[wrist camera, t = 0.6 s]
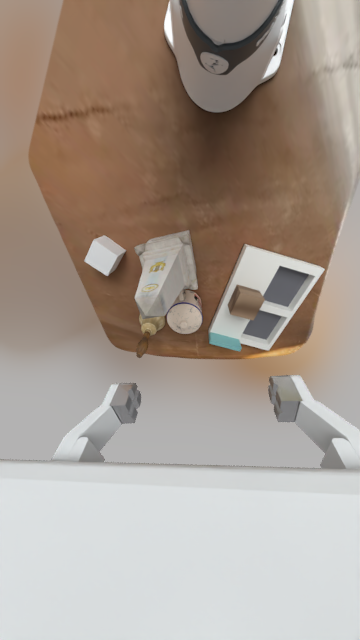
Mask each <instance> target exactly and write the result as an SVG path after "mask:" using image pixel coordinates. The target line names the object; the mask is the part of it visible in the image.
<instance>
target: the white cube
mask: <svg viewBox="0 0 360 640" xmlns="http://www.w3.org/2000/svg"><path fill="white" fill-rule="evenodd" d="M125 252H126V250H125V249H123V248H122V247H121V246H119V245H118V244H116V243H115V242H114V241H112V240H111V239H109V238H108V237H107V236H105V235H104V236H102V237H99V238H96V239H94V240H93V242H92V245H91V247H90V249H89V252H88V254H87V256H86V258H85V262H86V263H88V264H89V265H91V266H92V267H94V268H95V269H97V270H98V271H100V272H101V273H103V274H104V275H106V276H108V275H109V274H110V273H112V272H113V271H114V270H115V269H116V268H117V266H118V264H119V263H120V261H121V259H122V257H123V255H124V254H125Z"/></svg>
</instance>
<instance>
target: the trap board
mask: <svg viewBox="0 0 360 640" xmlns="http://www.w3.org/2000/svg"><path fill="white" fill-rule="evenodd" d="M324 270H325V269H324V268H322V267H320V266H318V265H315V264H312V263H308V262H305V261H301V260H298V259H295V258H291V257H288V256H285V255H281V254H278V253H275V252H271V251H268V250H264V249H261V248H258V247H254V246H251V245H248V244H244V245H243V248H242V250H241V253H240V255H239V257H238V260H237V262H236V264H235V267H234V269H233V272H232V274H231V276H230V279H229V281H228V284H227V286H226V288H225V291H224V293H223V295H222V298H221V300H220V303H219V305H218V307H217V310H216V312H215V315H214V317H213V319H212V322H211V324H210V326H209V329H208V332H209V344H213V345H217V346H221V347H224V348H228V349H232V350H236V351H240V350H241V345H240V343H241V344H245V345H249V346H253V347H256V348H260V349H264V350H268V351H269V349H270V348H271V347H272V345H273V344H274V342H275V341H276V339H277V338H278V336H279V335H280V334H281V332H282V331H283V329H284V328H285V326H286V325H287V323H288V322H289V321H290V319H291V318H292V316H293V315H294V313H295V312H296V310H297V309H298V307H299V306H300V305H301V303H302V302H303V300H304V299H305V297H306V296H307V294H308V293H309V292H310V290H311V289H312V287H313V286H314V284H315V283H316V281H317V280H318V279H319V277H320V276H321V274H322V273H323V271H324ZM236 285H241V286H244V287H248V288H251V289H255V290H258V291H260V292H261V294H262V295H263V297H264V299H265V301H264V303H263V304H262V306H261V308H260V310H259V311H258V313H257V315H256V317H255V318H254V320H249V319H245V318H242V317H238V316H234V315H231V314H230V312H229V308H228V303H229V301H230V299H231V296H232V294H233V292H234V290H235V287H236Z"/></svg>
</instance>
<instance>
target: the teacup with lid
mask: <svg viewBox="0 0 360 640" xmlns="http://www.w3.org/2000/svg"><path fill="white" fill-rule="evenodd" d="M202 321H203V316H202V303H201V299H200V297H199V296H198V295H197V294H196V293H195V292H193V291H190V290H185V289H184V290H182V291H181V292H180V294H179V295H178V297H177V298H176V300H175V301H174V303H173V304H172V306H171V307H170V309H169V310H168V312H167V322H168V324H169V326H170V327H171V328H172V329H173V330H174V331H176V332H178V333H181V334H189V333H193V332H195V331H196V330H197V329H199V327H200V326H201V324H202Z"/></svg>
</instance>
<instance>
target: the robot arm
mask: <svg viewBox="0 0 360 640" xmlns="http://www.w3.org/2000/svg"><path fill="white" fill-rule="evenodd" d="M293 2H294V0H170V1H169V5H168V9H167V13H166V17H165V21H164V33H165V37H166V40H167V42H168V44H169V46H170V48H171V49H172V51H173V53H174V54H175V56H176V59H177V63H178V67H179V72H180V76H181V79H182V82H183V85H184V87H185V89H186V91H187V93H188V95H189V96H190V98H191V99H192V100H193V101H194V102H195V103H196V104H197V105H198V106H199V107H201V108H202V109H204V110H207V111H210V112H224V111H228V110H230V109H232V108H234V107H236V106H237V105H239V104H240V103H241V102H242V101H243V100H244V99H245V98H246V97H247V96H248V95H249V94H250V93H251V92H252V90H253V89H254V88H255V87H256V86H257V85H259V84H261V83H263V82H265V81H267V80H268V79H270V78H272V77H273V76H274V75H275V74H276V72H277V70H278V68H279V65H280V62H281V58H282V53H283V49H284V44H285V39H286V35H287V30H288V25H289V21H290V16H291V12H292V7H293ZM275 50H276V55H275V56H273V55H274V52H275ZM269 381H270V385H269V389H268V391H269V397H270V400H271V403H272V404H273V405H274V412H275V415H276V417H277V420H278V422H295V423H296V425H297V426H298V427H299V428H300V429H301V430H302V431H303V432H304V433H305V434H306V435H308V437H310V439H312V441H313V442H314V443H315V444H316V445H317V446H318V447H319V448H320V449H321V450H323V452H324V453H325V456H324V458H323V460H322V463H321V464H320V466H321V468H292V467H291V468H290V467H256V466H254V467H253V466H220V465H185V464H149V463H112V462H104V460H105V459H104V457H103V456H102V455H101V453H100V450H101V449H102V448H103V447H104V446H105V444H106V443H107V442H108V441H109V439H110V438H111V437H112V436H113V435H114V433H115V432H116V431H117V430H118V428H119V427H120V426H121V425H122V424H123V423H135V420H136V416H137V410H136V409H137V408H138V407H139V406H140V403H141V394H140V391H138V390H137V385H136V383H119V384H118V383H116V384H112V385H111V386H110V389H109V391H108V393H107V395H106V397H105V399H104V401H103V403H102V405H101V406H99V407H98V408H97V409H95V410H94V411H93V412H92V413H91V414H90V415H88V416H87V417H86V418H85V419H84V420H83V421H81V422H80V423H79V424H78V425H77V426H76V427H75V428H74V429H72V430H71V431H70V432H69V433H68V434H67V435H65V436H64V438H63V440H62V442H61V443H60V445H59V447H58V449H57V451H56V452H55V454H54V456H53V457H52V459H51V461H40V460H39V461H38V460H4V459H0V640H360V430H359V429H357V428H356V427H354V426H353V425H351V424H350V423H348V422H347V421H346V420H344V419H343V418H342V417H340V416H339V415H337V414H336V413H334V412H333V411H332V410H330V409H329V408H327V407H326V406H324V405H323V404H322V403H320V402H319V401H315V400H314V399H313V397H312V395H311V394H310V392H309V390H308V388H307V386H306V385H305V383H304V381H303V379H302V378H301V376H300V375H289V376H288V375H287V376H271V377H270V379H269Z"/></svg>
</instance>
